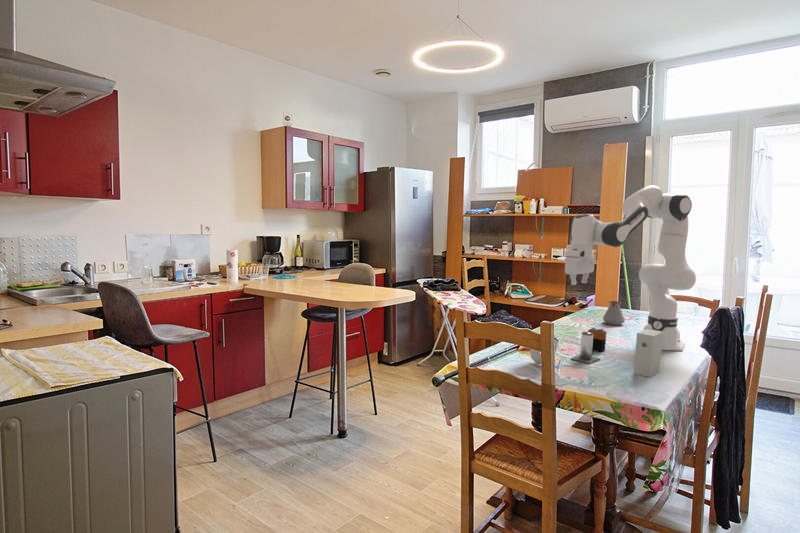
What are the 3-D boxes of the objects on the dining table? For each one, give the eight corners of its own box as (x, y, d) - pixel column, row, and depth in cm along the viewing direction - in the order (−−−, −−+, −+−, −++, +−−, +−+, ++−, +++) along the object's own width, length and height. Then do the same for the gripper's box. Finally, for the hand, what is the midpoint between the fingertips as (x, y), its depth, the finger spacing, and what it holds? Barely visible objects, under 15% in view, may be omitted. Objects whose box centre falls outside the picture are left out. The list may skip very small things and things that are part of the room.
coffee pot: (603, 320, 275) (605, 295, 273) (625, 323, 269) (627, 298, 268) (599, 327, 256) (601, 301, 255) (622, 330, 251) (624, 303, 249)
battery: (601, 352, 208) (603, 330, 207) (586, 349, 212) (588, 327, 211) (605, 350, 211) (607, 329, 210) (590, 347, 216) (592, 326, 214)
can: (582, 356, 199) (584, 330, 198) (593, 358, 196) (595, 333, 194) (577, 358, 196) (579, 332, 195) (588, 360, 192) (590, 334, 191)
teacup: (555, 359, 194) (556, 336, 193) (559, 371, 180) (560, 345, 179) (525, 357, 197) (526, 334, 196) (526, 367, 183) (528, 343, 182)
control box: (643, 367, 187) (646, 328, 185) (659, 371, 183) (663, 331, 181) (633, 373, 180) (636, 333, 178) (649, 377, 175) (653, 336, 174)
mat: (581, 355, 202) (581, 354, 202) (600, 359, 196) (600, 358, 196) (570, 359, 195) (570, 358, 195) (589, 364, 189) (589, 363, 189)
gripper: (585, 250, 208) (582, 281, 210) (562, 252, 194) (560, 284, 196) (599, 251, 204) (596, 283, 205) (577, 253, 190) (575, 286, 191)
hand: (579, 284), depth 200 cm, fingers open, 8 cm apart
